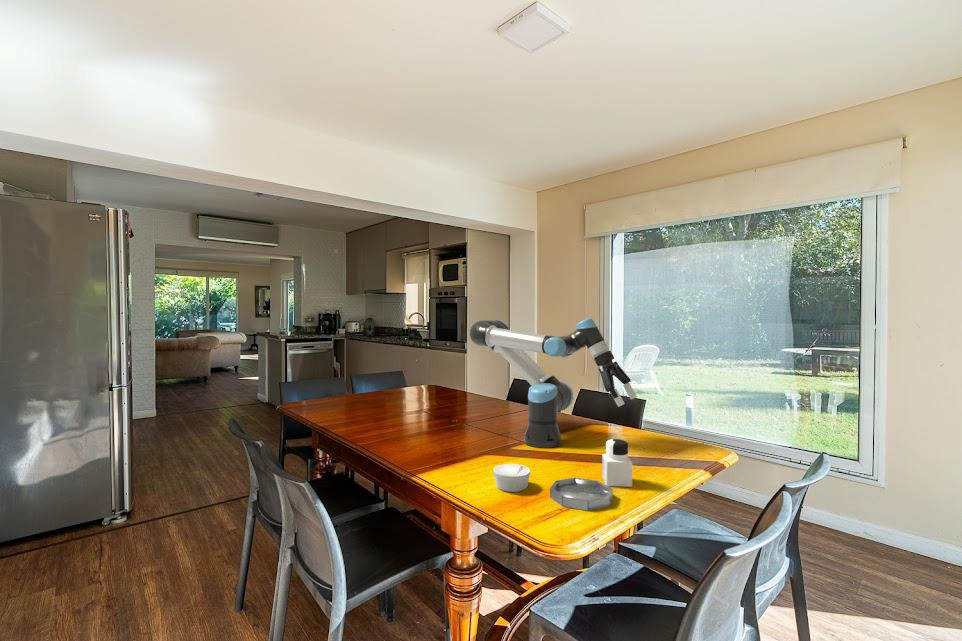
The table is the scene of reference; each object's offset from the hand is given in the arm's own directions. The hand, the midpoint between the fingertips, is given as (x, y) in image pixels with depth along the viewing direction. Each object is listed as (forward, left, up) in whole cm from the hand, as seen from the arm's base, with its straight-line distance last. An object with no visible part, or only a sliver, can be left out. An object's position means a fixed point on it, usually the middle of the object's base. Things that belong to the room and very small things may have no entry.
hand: (628, 401), depth 179 cm
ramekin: (-28, -57, -18) cm, 66 cm away
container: (+1, -41, -18) cm, 45 cm away
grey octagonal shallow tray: (-7, -57, -18) cm, 60 cm away
